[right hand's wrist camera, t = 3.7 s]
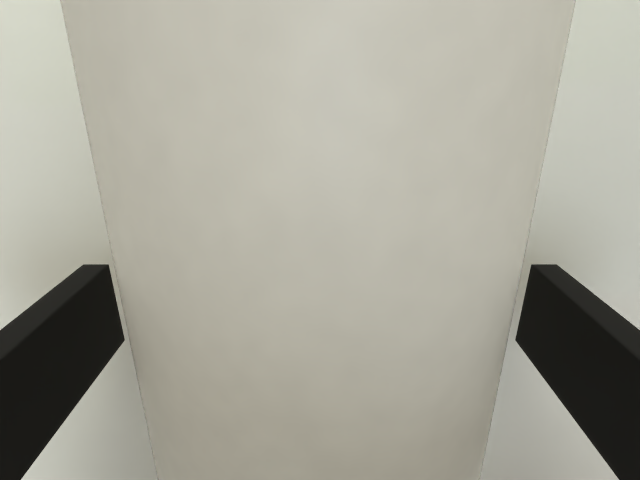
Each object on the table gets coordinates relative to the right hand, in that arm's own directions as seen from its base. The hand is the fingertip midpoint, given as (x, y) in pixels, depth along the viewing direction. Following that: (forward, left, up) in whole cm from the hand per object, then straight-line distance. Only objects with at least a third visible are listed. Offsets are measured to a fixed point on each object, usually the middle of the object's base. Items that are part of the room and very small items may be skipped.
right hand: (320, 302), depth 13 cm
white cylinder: (+5, +8, -2) cm, 10 cm away
